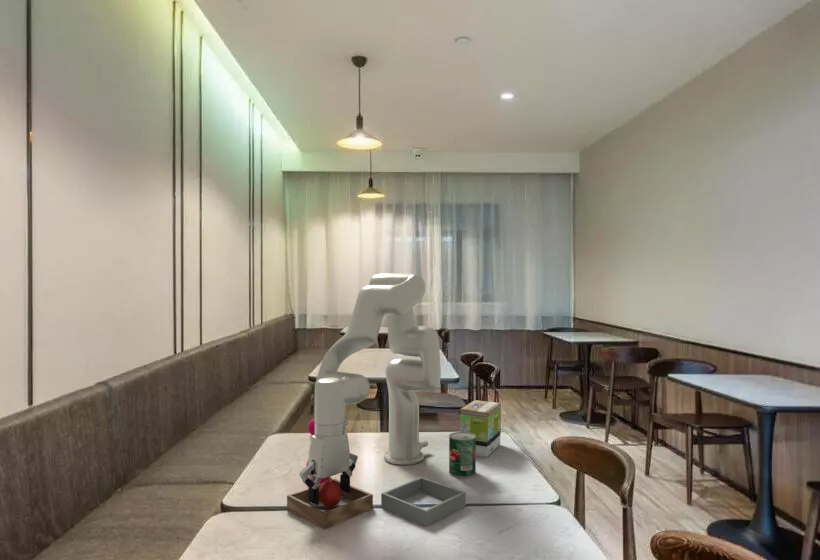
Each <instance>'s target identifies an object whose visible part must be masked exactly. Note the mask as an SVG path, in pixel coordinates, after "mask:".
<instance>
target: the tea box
mask: <svg viewBox="0 0 820 560" xmlns="http://www.w3.org/2000/svg"><path fill="white" fill-rule="evenodd" d="M459 411H460V412H459V414H460V415H459V432H468V433H472V434H475V435H476V457H481V458H483V457H484V458H488V457H489V456H490V455H491V453H492V452H494V451H495V450H496V449H497V448H498V447H499V446H500V445H501V434H502V433H501V422H502V417H501V416H502V403H501V402H497V401H496V402H493V401H487V400H486V401H485V400H478V399H477V400H476V399H474V400H473V401H471V402H469V403H467V404H466V405H464V406H463V407H461V408H460V410H459Z"/></svg>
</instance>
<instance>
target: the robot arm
mask: <svg viewBox="0 0 820 560" xmlns="http://www.w3.org/2000/svg"><path fill="white" fill-rule="evenodd" d="M425 292H426V283H425V280H424V278H423V277H422V276H421V275H419V274H418V273H396V272H393V273H392V272H391V273H390V272H389V273H388V272H387V273H385V272H384V273H378V274H373V276H371V277H370V279H369V285H365V286H363V287H362V288H361V289H360V290H359V292H358V293H357V298H356V300H355V304H354V307H353V311H352V314H351V317H350V321H349V324H348V326H347V327H348V328H347V331H346V332H345V334H344V335H342V336H341V337H340V338H339V339H338V340H336V342H334V344H333V345H332V346H331V347H330V348H329V349H328V351H326V353H325V355H324V356H323V358H322V361H321V363H320V366H319V368H318V373H317V376H316V379H315V383H314V418H315V435H313V436H312V438H311V441H310V444H309V449H308V459H307V461H308V465H307V464H306V465H307V466H305V467H304V468H303V469H302V470H301V471H300V472H299V477H300V478H301V480H302V482H303V484H305V486H306V487H307V488H309V502H310V503H311V504H313V505H315V506H318V505H319V504H320V501H319V488H317V486H318V485H319V483H320V481H321V479H324V478H327V477H330V478H331V477H333V476H335V475H339V474H340V476H339V481H340V488H341V490H342V491H344V492H346V493H350V485H351V477H352V476H353V471H354V470H355V468H356V464H357V461H358V457H359V456H358V455H356V454H354V453H351V452H350V444H349V443H350V442H349V437H348V432H347V431H346V426H347V425H349V423H348V420H347V419H346V406H347V405H353V404H359V403H361V402H363V401H365V400H366V399H367V397H368V396H369V393H370V391H371V390H370V389H371V386H370V384H371V383H370V382H369V379H368V378H367V377H366V376H364V375H363V374H360V373H351V372H345V371H339V368H340V366H341V364H342V363H343V362H344V361H345V360H346V359H347V358H349V357H350V356H351V355H353V354H355V353H359V352H360V351H363V350H365V349H367V348H369V347H372V346H373V345H375V344H376V343H377V341H378V336H379V332H380V330H381V326H382V323H383V319H384V316H386V321H387V336H388V339H387V340H388V347H389V350H390V352H391V354H393V355H398V356H405V357H417V358H420V359H413V358H404V357H402V358H401V357H400V358H399V357H398V358H394V359H391V360H390V361H389V362H388V364H387V366H386V368H385V378H386V385H387V391H388V451H386V452H385V453H383V459H384V461H386V462H387V463H389V464H393V465H399V466H400V465H402V466H405V465H407V466H408V465H409V466H410V465H414V464H418V463H420V462H422V461H423V460H424V457H425V454H424V453H423V452H422V449H423V448H426V447H428V446H429V442H428V440H423V441H420V416H419V415H420V402H419V400H418V395H416V393H415V391H418V392H427V393H428V392H435V391H436V390H437V389H438V388H439V386H440V384H441V377H442V375H441V373H442V371H441V353H440V351H441V349H440V338H439V334H438V333H437V331H436V330H435V329H434V328H433V327H431V326H427V325H417V324H416V322H415V315H414V314H415V312H414V307H415V306H416V305H418V304H419V303H420V301H422V300H423V297H424V296H425ZM308 474H309V475H311V476H310V478H309V475H308ZM315 477H316V479H315ZM314 479H315V481H314ZM313 481H314V482H313Z"/></svg>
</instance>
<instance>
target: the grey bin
mask: <svg viewBox="0 0 820 560" xmlns="http://www.w3.org/2000/svg"><path fill="white" fill-rule="evenodd" d="M422 491H423V492H422ZM418 492H419V493H421V492H422V493H425V494H428V495H430V494H431V496H433V497H436V498H438V499H441V500H443V501H441V502H439V503H437V504H434V505H432V506H431V507H429V508H426V509H425V508H423V507H421V506H418V505H415V504H414V503H413V504H412V503H411V502H408V501H406V500H405V499H408V498H409V497H411V496H414V495H416V494H419V493H418ZM466 495H467V494H466V491H463V490H460V489H458V488H454V487H452V486H449V485H446V484H443V483H440V482H437V481H434V480H432V479H429V478H426V477H423V476H420V477H418V478H415V479H413V480H410V481H408V482H405V483H403V484H401V485H398V486H395V487H394V488H393V487H392V488H391V489H389V490H386V491H384V492H381V495H380V496H381V500H380V501H381V506H380V507H381V508H382V509H385V510H387V511H390V512H391V513H393V514H397V515H399V516H401V517H403V518H405V519H408V520H410V521H413V522H415V523H417V524H420V525H421V526H424V527H428V526H430V525H432V524H433V523H436V522H438V521H440V520H441V519H443V518H446V517H447V516H449V515H451V514H453V513H455V512H457V511H459V510H461V509H463V508H465V507H466V503H467V502H466V499H467V496H466Z"/></svg>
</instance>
